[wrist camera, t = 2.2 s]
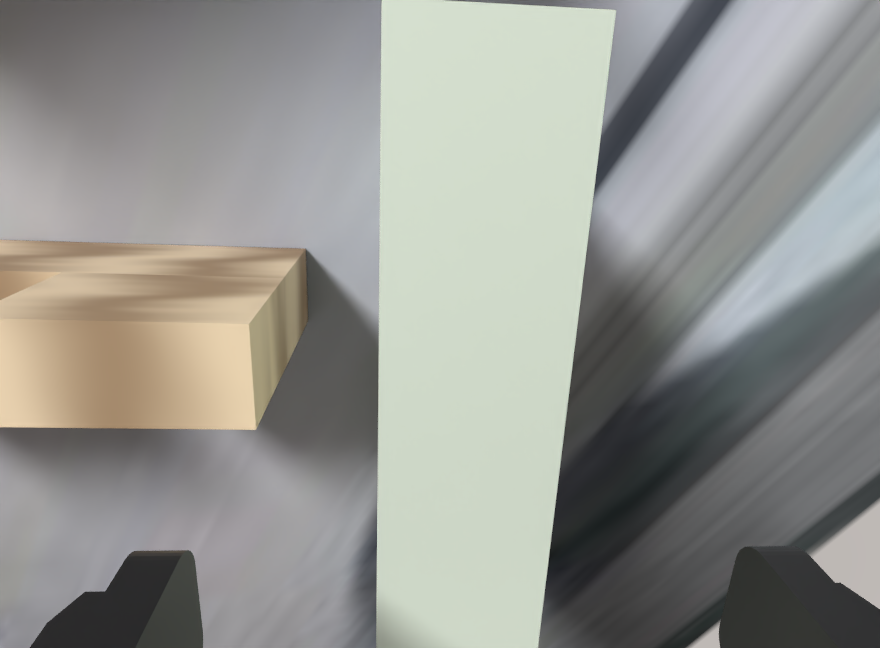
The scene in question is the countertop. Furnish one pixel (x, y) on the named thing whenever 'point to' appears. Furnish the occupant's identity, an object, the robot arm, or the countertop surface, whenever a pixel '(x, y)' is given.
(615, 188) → the countertop surface
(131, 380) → the oak u-shaped block
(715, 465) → the countertop surface
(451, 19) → the sage board
